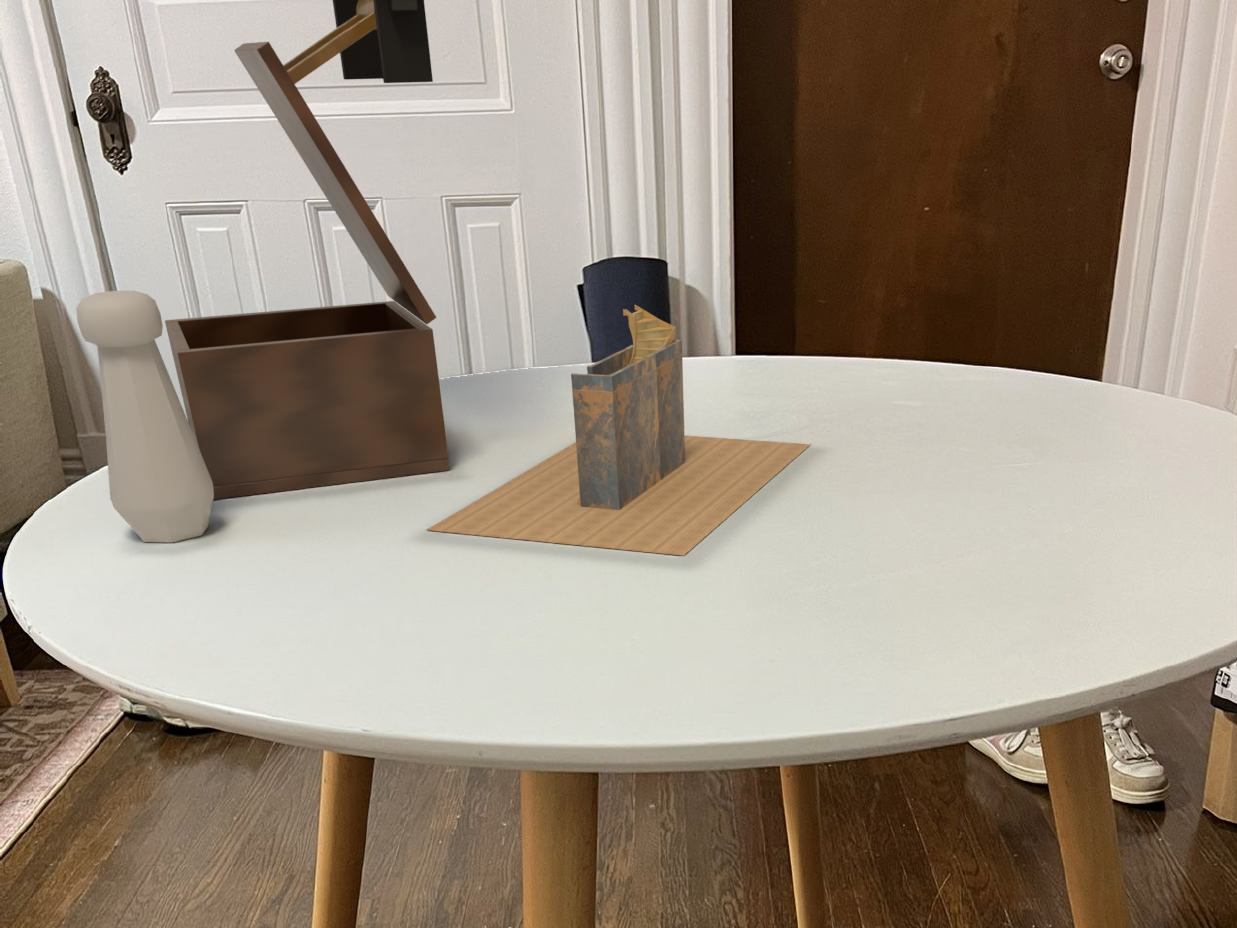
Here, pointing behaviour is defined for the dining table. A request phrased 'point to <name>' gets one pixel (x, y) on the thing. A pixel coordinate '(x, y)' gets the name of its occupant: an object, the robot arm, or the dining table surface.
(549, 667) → the dining table surface
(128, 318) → the salt shaker
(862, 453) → the dining table surface
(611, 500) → the architectural model on board
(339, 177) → the caddy lid
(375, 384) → the box
